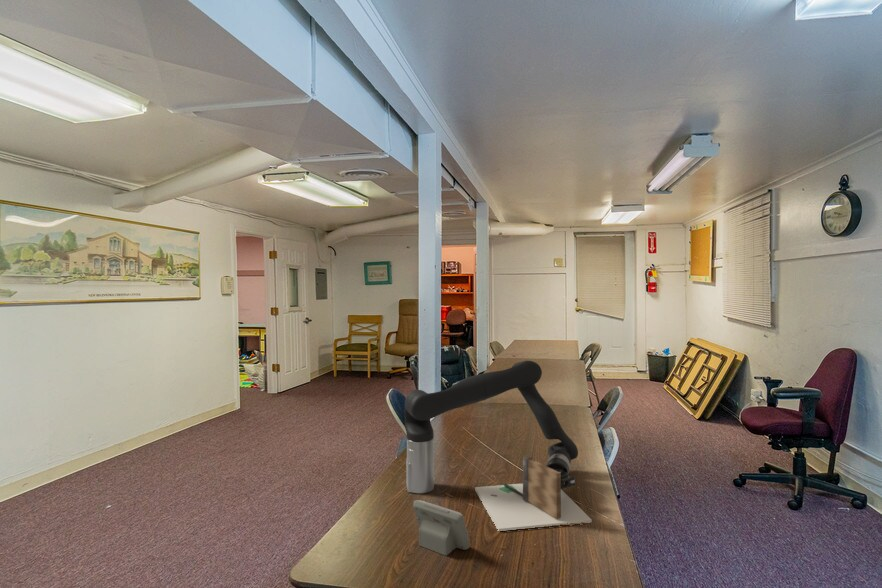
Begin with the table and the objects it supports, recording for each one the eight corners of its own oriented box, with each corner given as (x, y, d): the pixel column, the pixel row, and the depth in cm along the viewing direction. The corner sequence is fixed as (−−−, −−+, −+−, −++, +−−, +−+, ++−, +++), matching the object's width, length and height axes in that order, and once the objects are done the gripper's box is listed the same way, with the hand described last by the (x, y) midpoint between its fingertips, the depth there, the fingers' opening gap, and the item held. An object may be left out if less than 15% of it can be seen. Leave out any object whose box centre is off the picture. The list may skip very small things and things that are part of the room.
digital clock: (473, 550, 123) (473, 509, 123) (449, 564, 117) (448, 521, 117) (431, 527, 135) (431, 490, 135) (407, 539, 129) (407, 500, 128)
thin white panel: (498, 532, 132) (498, 528, 132) (475, 490, 159) (475, 486, 159) (591, 523, 136) (591, 519, 136) (553, 483, 164) (553, 480, 164)
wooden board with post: (501, 486, 159) (501, 448, 158) (508, 484, 160) (508, 446, 160) (554, 519, 136) (554, 474, 136) (562, 516, 137) (562, 472, 137)
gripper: (537, 454, 159) (529, 474, 143) (578, 459, 155) (574, 479, 139) (537, 476, 160) (529, 498, 143) (578, 482, 155) (574, 505, 139)
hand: (551, 489), depth 141 cm, fingers closed
